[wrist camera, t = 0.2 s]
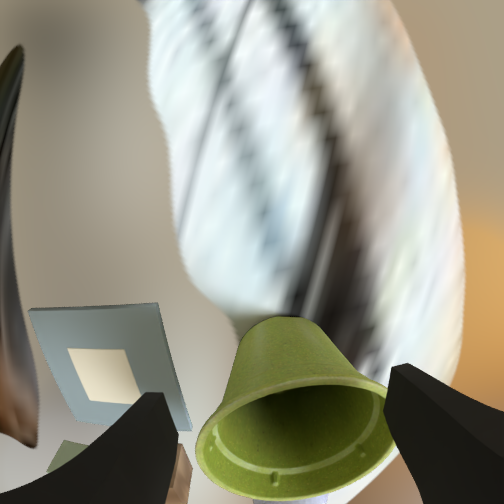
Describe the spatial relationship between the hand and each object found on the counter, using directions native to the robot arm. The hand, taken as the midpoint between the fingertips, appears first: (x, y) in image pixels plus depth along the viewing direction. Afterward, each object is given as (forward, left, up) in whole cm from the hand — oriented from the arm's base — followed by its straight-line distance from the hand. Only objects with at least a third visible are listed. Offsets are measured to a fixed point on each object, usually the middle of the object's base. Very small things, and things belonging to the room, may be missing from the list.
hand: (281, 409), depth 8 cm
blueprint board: (-5, +12, -10) cm, 17 cm away
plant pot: (-5, -1, -10) cm, 11 cm away
